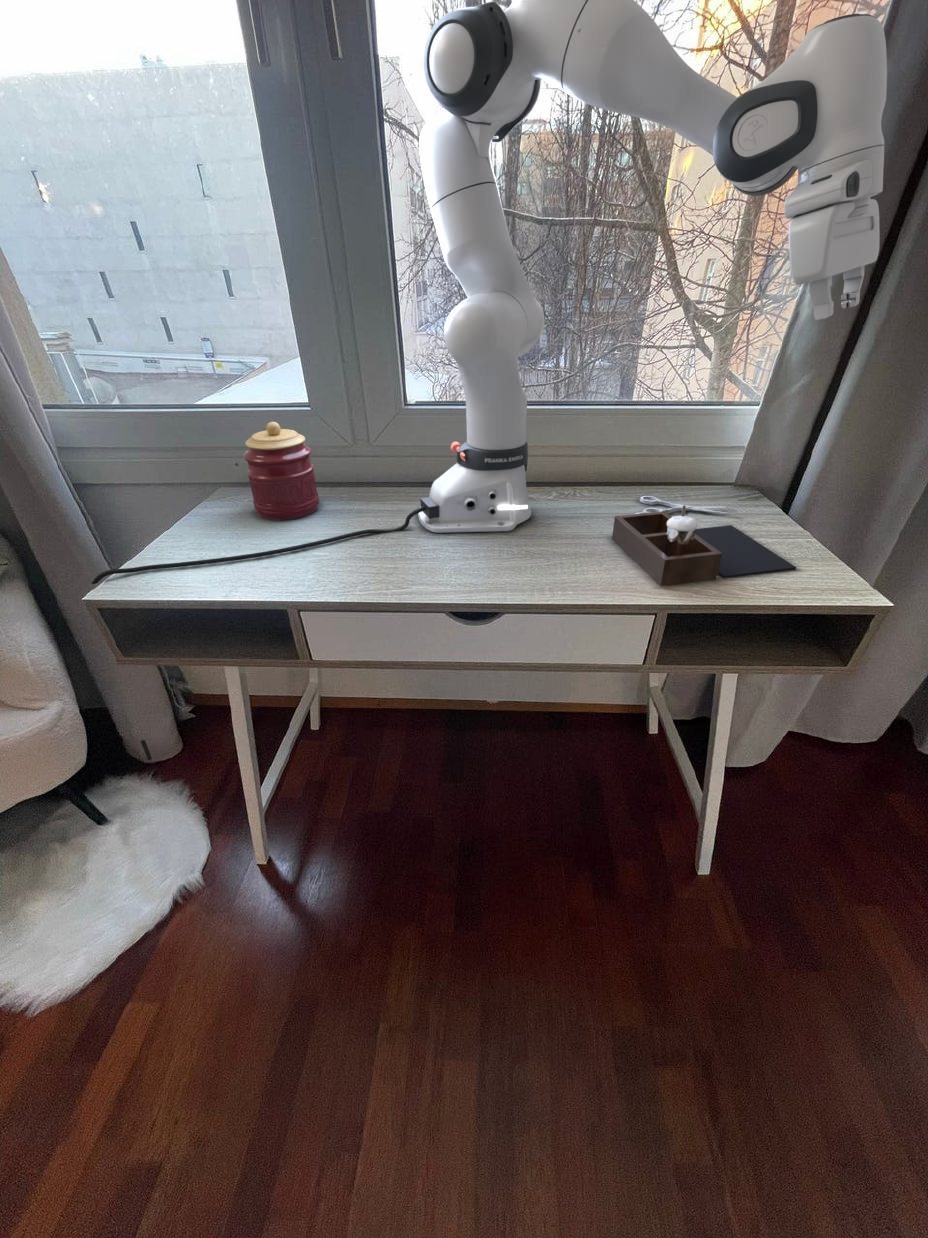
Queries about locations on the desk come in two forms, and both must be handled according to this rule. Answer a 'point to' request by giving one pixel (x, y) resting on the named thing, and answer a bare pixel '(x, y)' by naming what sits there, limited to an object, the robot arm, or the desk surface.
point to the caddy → (647, 549)
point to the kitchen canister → (281, 474)
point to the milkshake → (679, 534)
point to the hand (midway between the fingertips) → (837, 312)
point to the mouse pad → (741, 553)
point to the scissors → (676, 507)
